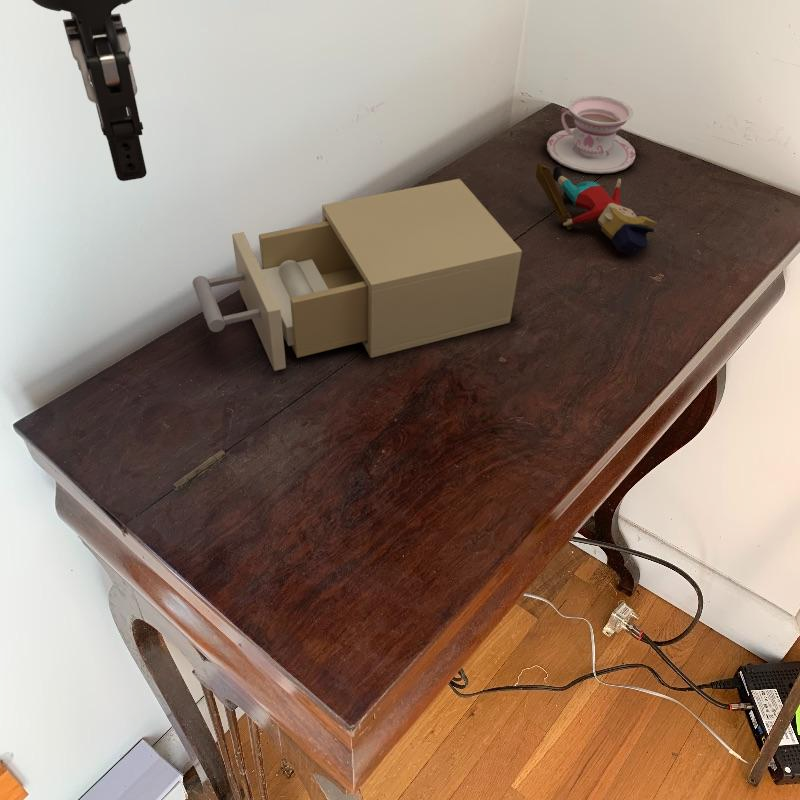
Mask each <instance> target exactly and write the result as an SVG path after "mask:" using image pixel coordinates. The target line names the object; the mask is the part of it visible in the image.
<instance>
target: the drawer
mask: <svg viewBox="0 0 800 800" xmlns="http://www.w3.org/2000/svg"><path fill="white" fill-rule="evenodd" d="M231 237H232V238H231V239H232V246H233V252H234V260H235V265H236V273H232V274H227V275H221V276H218V277H213V278H207V277H206V276H204V275H198V276H196V277H195V278H193V280H192V287H193V290H194V291H195V294H196V297H197V300H198V303H199V305H200V308H201V311H202V314H203V316H204V319H205V321H206V324H207V326H208V330H210V331H211V332H213V333H219V332H221V331H223V330H224V329H225V327H226V325H230V324H235V323H240V322H244V321H249V320H251V321H252V323H253V325H254V328H255V330H256V332H257V334H258V337H259V339H260V341H261V343H262V344H261V345H262V347H263V348H264V351H265V353H266V355H267V358H268V360H269V362H270V364H271V366H272V369H273V371H275V372H276V371H279V370H283V369H287V364H286V363H287V362H286V353H285V352H286V351H285V343H284V341H285V340H284V335H283V331H282V320H281V310H280V307H279V305H278V303H277V301H276V299H275V297H274V295H273V293H272V291H271V288H270V286H269V284H268V282H267V280H266V278H265V276H264V274H263V272H262V270H263V269H267V268H272V267H277V266H280V265H281V263H283V262H284V261H287V260H293V261H296V262H301V261H306V260H310V259H312V260H313V262H314V264H315V265H316V267H317V269H318V271H319V273H320V275H321V276H322V278H323V280H324V282H325V284H326V286H327V287H328V290H323V291H319V292H314V293H310V294H305V295H301V296H297V297H292V298H290V303H291V315H292V326H293V338H294V345H291V346H290V347H291V348H292V351H293V352H294V354H295V356H296V358H302V357H306V356H310V355H314V354H318V353H322V352H327V351H330V350H335V349H337V348H338V349H339V348H342V347H347V346H351V345H355V344H358V343H362V342H363V341H367V340H368V288H369V287H368V285H367V284H366V282H365V280H364V279H363V277H362V276H361V274H360V272H359V271H358V269H357V267H356V266H355V264H354V262H353V261H352V259H351V258H350V256H349V254H348V253H347V251H346V249H345V248H344V246H343V244H342V243H341V241H340V240H339V238H338V236H337V235H336V233H335V231H334V230H333V228H332V226H331V225H330V223H329V222H328V221H325V222H323V221H321V222H315V223H310V224H305V225H301V226H295V227H290V228H286V229H280V230H274V231H271V232H265V233H260V234H258V242H259V250H260V258H261V265H260V263H259V261H258V259H257V257H256V255H255V252H254V251H253V249H252V246H251V244H250V242H249V240H248V238H247V236H246V234H245V232H244V231H240V232H236V233H232V234H231ZM237 282H238V287H239V293H240V295H241V298H242V301H243V302H244V304H245V305H244V306H245V307H246V311H242V312H238V313H232V314H229V315H224V316H223V315H222V312H221V310H220V307H219V305H218V302H217V300H216V297H215V294H214V292H213V290H212V288H213V287H218V286H222V285H227V284H232V283H237Z"/></svg>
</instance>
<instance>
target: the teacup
mask: <svg viewBox="0 0 800 800" xmlns="http://www.w3.org/2000/svg"><path fill="white" fill-rule="evenodd" d="M567 108H568V109H566V107H563V108H561V109H560V112H561V116H560V118H561V119H560V120H561V125H562V127H563V129H562V130H559V131H556V132H555V133H554V134H552V135H551V136H550V137H549V139H548V140H547V141H546V151H547V153H548V154H549V156H550V157H551V158H552V159H553V160H554V161H555V162H557V163H559V165H562V166H564V167H566V168H569V169H571V170H574V171H577V172H582V173H586V174H587V173H588V174H600V175H601V174H602V175H603V174H613V173H617V172H620V171H624V170H626V169H627V168H629V167H630V166H632V165H633V163H634V162H635V160H636V157H637V156H636V150H635V148H634V146H633V145H631V143H630V141H628V140H626V139H625V138H623V137H622V136H620V135H618V134H617V133H618V132H619V131H620V130H621V128H622V126H624V125H625V124H626V123H627V122H628V121H629V120H630V119H631V118H632V117H633V116H634V111H633V108H632V107H630V105H628V104H627V103H625V102H623V101H620V100H618V99H615V98H612V97H607V96H602V95H583V96H578V97H574V98H572V99H571V100H570V101H569V102H568V103H567ZM566 115H569V116H570V117H572V118H573V123H574V126H575V127H572V128H570V127H569V126H568V125H567V122H566V118H565V116H566Z"/></svg>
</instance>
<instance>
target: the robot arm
mask: <svg viewBox="0 0 800 800" xmlns="http://www.w3.org/2000/svg"><path fill="white" fill-rule="evenodd" d="M31 1H32V2H33V3H34V4H36V5H38V6H40V7H41V8H44V9H47V10H50V11H55V12H61V11H64V12H68V13H70V17H71V18H66V19H62V22H63V28H64V30H65V35H66V38H67V43H68V44H69V47H70V51H71V55H72V58H73V59H74V60H75V61H76V63H77V67H78V70H79V71H80V74H81V77H82V82H83V85H84V89H85V93H86V96H87V97H86V98H87V99H88V101H89V102H91V103H92V104H95V107H96V111H97V115H98V119H99V123H100V125H99V126H100V129H101V132H102V134H103V136H105V139H106V140H107V145H108V149H109V152H110V157H111V160H112V164H113V169H114V172H115V175H116V178H117V179H118V180H119V181H122V182H126V181H127V182H128V181H133V180H139V179H143V178H145V177H146V176H147V173H148V172H147V167H146V161H145V157H144V153H143V149H142V145H141V140H140V139H141V138H140V136H143V130H144V125H143V122H142V121H141V119H140V115H139V110H138V105H137V100H136V95H137V93H138V87H137V82H136V78H135V74H134V70H133V66H132V61H131V57H130V52H131V50H132V48H131V42H130V37H129V34H128V30H127V27H126V26H124V23H123V20H122V17H121V14H120V13H112V12H113V11H114V10H115V9H117V7H119V6H121V5H127V4H129V3H131V2H132V1H133V0H31Z"/></svg>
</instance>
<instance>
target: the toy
mask: <svg viewBox="0 0 800 800" xmlns="http://www.w3.org/2000/svg"><path fill="white" fill-rule="evenodd" d="M552 171H553V172H551V169H550V168H549V167H547V166H546V165H544V164H542V162H541V163H540V162H539V161H537V165H536V170H535V178H536V180H537V182H538V183H539V185H540V187H541V188H542V191H543V192H544V193H545V195H546V197H547V199H548V200H549V202H550V204H551V205H552V207H553V209H554V210H555V212H556V214H557V216H558V217H557V220H558V222H559V223H562V225H563V226H564V227H566V229H567V231H569V230H572V228H573V227H572V225H574V224H581V223H583V224H584V223H589V222H590V223H591V222H598V225H600V226H601V227H600V228H601V232H602V233H604V234H605V236H606V237H607V238H609V239H610V241H611V243H612V244H613V246H614V247H615V248H616V250H617V251H619V252H621V253H624V254H626V255H636V254H637V253H639V252H641V251H642V250H644V249H645V248H646V247H647V246H648V239H647V234H648V233H654V232H655V229H654V227H655V226H657V225H658V222H656V221H654V220H653V219H650V218H649V217H647V216H644V215H638V216H637V214H636V213H635V212H634V211H633V210H632V209H631V208H629V207H625V206H623V205H622V204H621V192H620V190H621V185H622V178H620V177H619V178H618V179H617V180H616V184H615V187H614V190H613V194H612V197H611V196H610V195H609V193H608V192H607V190H605V188H604V187H603V186H602V185H601V184H600V183H597V182H596V181H581V182H578V183H577V184H576V185H575V184H573V183H572V182H571V180H570V179H569V178H567V177H565V176H563V173H562V167H561V164H559V165H558V164H557V165H555V167H554V168H553V170H552ZM556 182H557V183H558V185H559V186H560V188H561V189H562V190H563V196H564V200H565V201H566V202H567V203H571V202H572V203H573V205H574V207H577V208H582V209H585V210H586V212H584V213H582V214H579V215H577V216H575V217H573V218H572V215H571V213H570V212H569V211H567V209H566V207H565V204H564V202H563V199H562V196H561V194H560V192H559V189H558V186H557V184H556Z"/></svg>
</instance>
